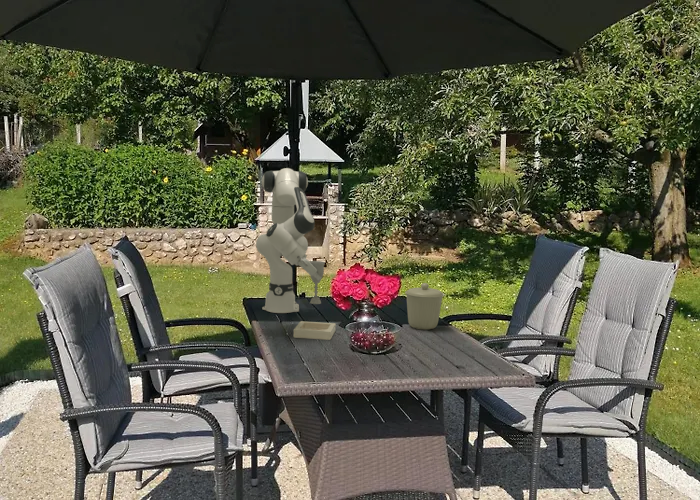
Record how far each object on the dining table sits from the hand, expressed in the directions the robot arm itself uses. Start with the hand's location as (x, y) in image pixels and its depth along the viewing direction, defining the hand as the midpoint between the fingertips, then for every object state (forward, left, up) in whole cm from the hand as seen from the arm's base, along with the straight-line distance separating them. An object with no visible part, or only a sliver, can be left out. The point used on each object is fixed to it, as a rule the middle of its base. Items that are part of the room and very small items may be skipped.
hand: (317, 277), depth 299 cm
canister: (-26, +47, -25) cm, 59 cm away
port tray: (0, 0, -25) cm, 25 cm away
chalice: (0, -1, -11) cm, 11 cm away
